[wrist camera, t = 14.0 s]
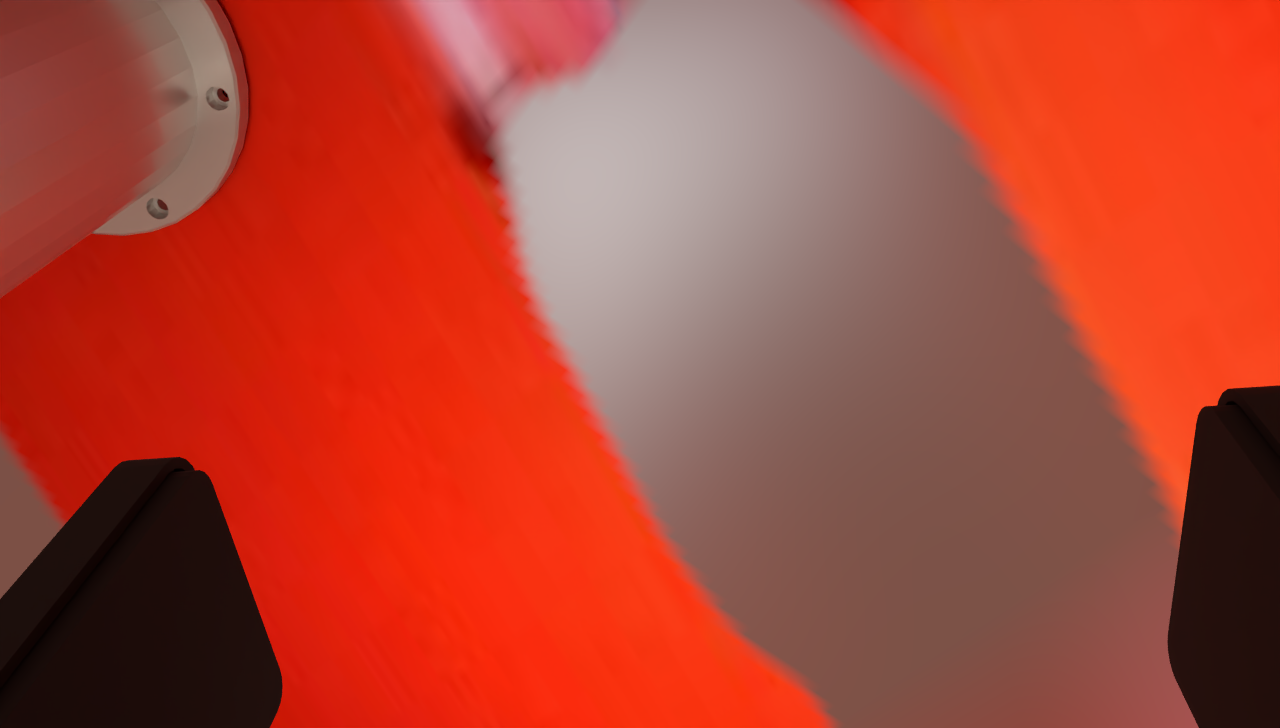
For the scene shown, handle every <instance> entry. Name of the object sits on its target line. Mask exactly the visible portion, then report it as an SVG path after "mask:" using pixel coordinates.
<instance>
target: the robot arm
mask: <svg viewBox="0 0 1280 728" xmlns="http://www.w3.org/2000/svg"><path fill="white" fill-rule="evenodd" d="M222 89H223V90H224V91H225V92H226V93H227V94H228V97H229V98H227V97H225V96H224V95H223V92H222ZM247 123H248V84H247V79H246V74H245V69H244V64H243V59H242V54H241V52H240V49H239V46H238V44H237V41H236V39H235V36H234V33H233V31H232V28H231V25H230V23H229V21H228V19H227V17H226V16H225V14H224V12H223V10H222V9H221V7H220V5H219V3H218V2H217V0H0V298H1V297H3V296H4V295H5V294H7V293H8V292H10V291H11V290H12V289H14V288H15V287H17V286H18V285H19V284H21V283H22V282H24V281H25V280H26V279H28V278H29V277H31V276H32V275H33V274H35V273H36V272H38V271H39V270H40V269H42V268H43V267H45V266H46V265H47V264H49V263H50V262H52V261H53V260H54V259H56V258H57V257H59V256H60V255H61V254H63V253H64V252H66V251H67V250H68V249H70V248H71V247H73V246H74V245H75V244H77V243H78V242H80V241H81V240H82V239H84V238H85V237H87V236H88V235H89V234H91V233H93V234H105V235H122V236H125V235H132V234H140V233H147V232H153V231H155V230H158V229H161V228H164V227H167V226H169V225H172V224H175V223H177V222H179V221H180V220H182V219H183V218H185V217H186V216H188V215H189V214H191V213H193V212H194V211H196V210H197V209H199V208H200V207H201V206H202V205H203V204H204V203H205V202H207V201H208V200H209V199H210V198H211V197H212V196H213V195H215V194H216V193H217V192H218V190H219V189H220V188H221V186H222V185H223V184H224V182H225V181H226V179H227V178H228V177H229V175H230V174H231V173H232V171H233V169H234V167H235V164H236V162H237V160H238V157H239V155H240V153H241V150H242V148H243V144H244V139H245V134H246V129H247ZM1168 653H1169V659H1170V664H1171V667H1172V671H1173V674H1174V676H1175V679H1176V681H1177V683H1178V685H1179V687H1180V689H1181V691H1182V693H1183V696H1184V698H1185V700H1186V702H1187V704H1188V706H1189V708H1190V710H1191V712H1192V714H1193V716H1194V718H1195V720H1196V723H1197V724H1198V727H1199V728H1280V386H1265V387H1250V388H1234V389H1227V390H1226V391H1224V392H1223V393H1222V395H1221V397H1220V399H1219V401H1218V405H1217V406H1206V407H1204V408H1202V409H1201V411H1200V413H1199V415H1198V419H1197V423H1196V430H1195V438H1194V445H1193V453H1192V460H1191V467H1190V475H1189V482H1188V490H1187V497H1186V504H1185V512H1184V519H1183V527H1182V534H1181V541H1180V549H1179V557H1178V564H1177V571H1176V579H1175V586H1174V593H1173V601H1172V608H1171V616H1170V624H1169V631H1168ZM281 697H282V676H281V672H280V668H279V665H278V663H277V660H276V657H275V654H274V652H273V649H272V646H271V643H270V641H269V638H268V635H267V632H266V630H265V627H264V624H263V621H262V619H261V616H260V613H259V610H258V608H257V605H256V602H255V599H254V597H253V594H252V591H251V588H250V586H249V583H248V580H247V577H246V575H245V572H244V569H243V566H242V564H241V561H240V558H239V555H238V553H237V550H236V547H235V544H234V542H233V539H232V536H231V533H230V531H229V528H228V525H227V522H226V520H225V517H224V514H223V511H222V509H221V506H220V503H219V500H218V498H217V495H216V492H215V489H214V487H213V484H212V482H211V480H210V478H209V476H208V475H207V474H206V473H205V472H203V471H200V470H196V471H195V470H194V468H193V466H192V465H191V464H190V463H189V462H188V461H187V460H186V459H183V458H181V457H173V458H158V459H142V460H129V461H124V462H121V463H120V464H118V465H117V466H116V467H115V468H114V469H113V470H112V471H111V472H110V473H109V474H108V476H107V477H106V478H105V479H104V480H103V481H102V482H101V484H100V485H99V486H98V487H97V488H96V489H95V491H94V492H93V493H92V494H91V495H90V496H89V497H88V499H87V500H86V501H85V502H84V503H83V504H82V506H81V507H80V508H79V509H78V510H77V511H76V512H75V514H74V515H73V516H72V517H71V518H70V519H69V521H68V522H67V523H66V524H65V525H64V526H63V527H62V529H61V530H60V531H59V532H58V533H57V534H56V536H55V537H54V538H53V539H52V540H51V542H50V543H49V544H48V545H47V546H46V547H45V548H44V549H43V550H42V552H41V553H40V554H39V555H38V556H37V557H36V559H35V560H34V561H33V562H32V563H31V564H30V565H29V567H28V568H27V569H26V570H25V571H24V572H23V574H22V575H21V576H20V577H19V578H18V579H17V581H16V582H15V583H14V584H13V585H12V586H11V587H10V589H9V590H8V591H7V592H6V593H5V594H4V595H3V597H2V598H1V599H0V728H270V726H271V724H272V722H273V720H274V718H275V715H276V713H277V711H278V708H279V706H280V702H281Z"/></svg>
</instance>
